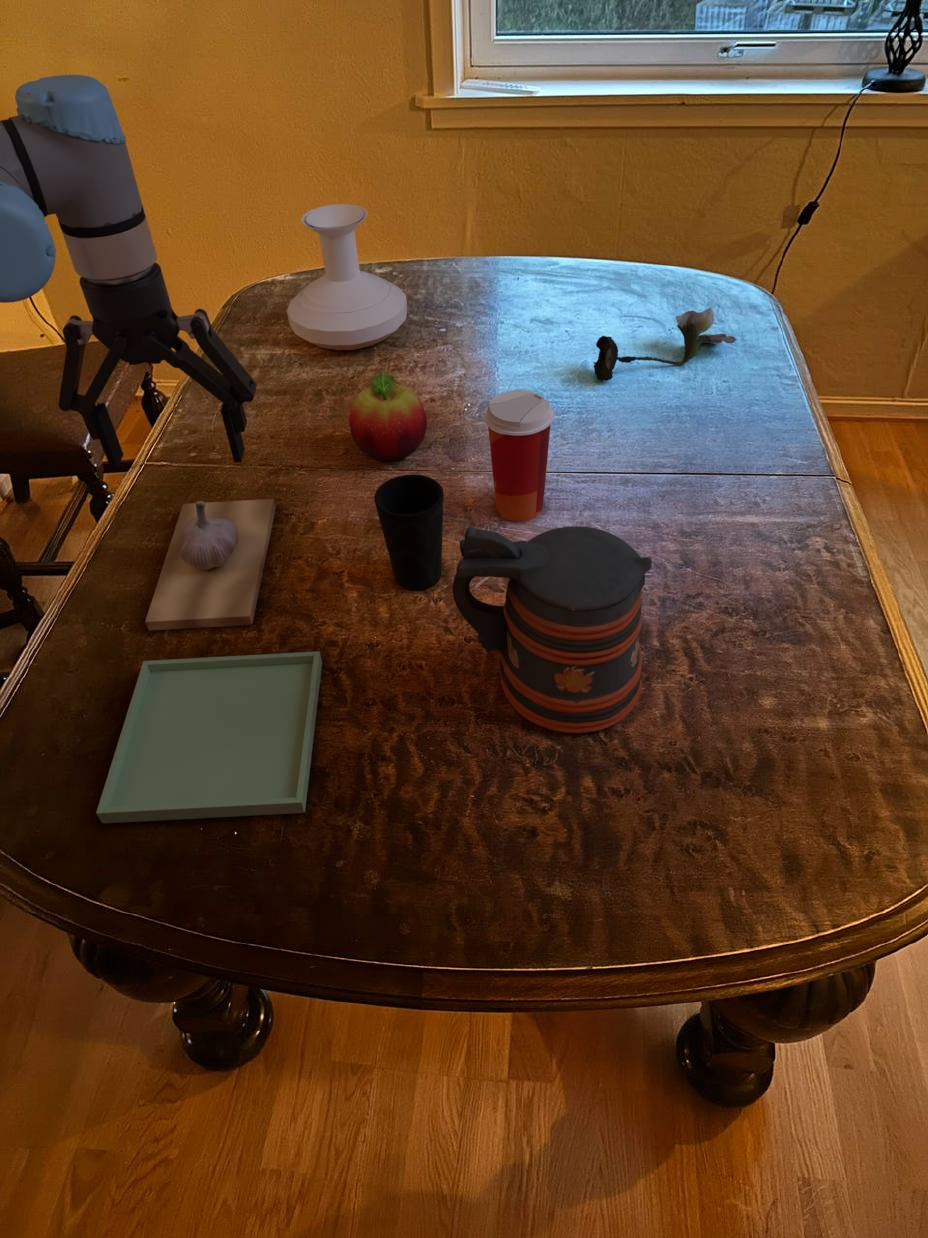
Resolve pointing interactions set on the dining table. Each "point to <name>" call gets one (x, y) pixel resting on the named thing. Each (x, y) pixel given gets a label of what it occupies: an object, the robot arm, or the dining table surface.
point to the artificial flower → (688, 326)
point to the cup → (412, 528)
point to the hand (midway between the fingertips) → (178, 458)
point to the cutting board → (214, 572)
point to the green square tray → (215, 739)
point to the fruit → (387, 420)
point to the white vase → (344, 289)
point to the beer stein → (560, 622)
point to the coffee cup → (519, 452)
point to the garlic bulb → (207, 540)
